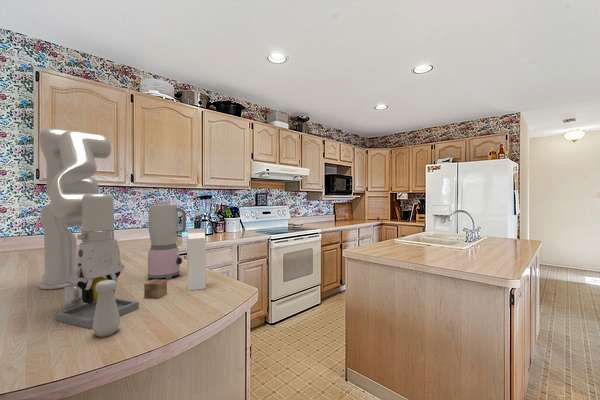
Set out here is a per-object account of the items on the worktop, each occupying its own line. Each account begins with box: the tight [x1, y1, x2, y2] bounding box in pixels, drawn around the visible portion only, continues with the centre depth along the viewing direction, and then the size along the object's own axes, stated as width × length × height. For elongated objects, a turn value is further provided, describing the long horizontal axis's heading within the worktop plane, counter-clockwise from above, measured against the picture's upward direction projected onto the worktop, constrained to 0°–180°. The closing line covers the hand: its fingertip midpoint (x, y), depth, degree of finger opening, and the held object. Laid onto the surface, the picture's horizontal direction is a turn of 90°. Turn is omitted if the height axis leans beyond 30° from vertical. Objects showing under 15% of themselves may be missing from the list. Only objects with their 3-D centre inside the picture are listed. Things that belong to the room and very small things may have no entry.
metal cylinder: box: [64, 284, 85, 311], centre depth 85 cm, size 4×4×7 cm
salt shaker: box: [91, 280, 121, 338], centre depth 70 cm, size 6×6×13 cm
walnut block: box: [143, 278, 168, 300], centre depth 96 cm, size 5×5×5 cm
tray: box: [55, 297, 140, 330], centre depth 81 cm, size 14×14×2 cm
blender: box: [147, 201, 187, 281], centre depth 118 cm, size 16×12×32 cm
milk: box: [186, 227, 207, 292], centre depth 105 cm, size 6×6×22 cm
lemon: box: [90, 276, 108, 302], centre depth 81 cm, size 6×6×8 cm
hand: (99, 298), depth 81 cm, fingers closed on lemon, 5 cm apart
